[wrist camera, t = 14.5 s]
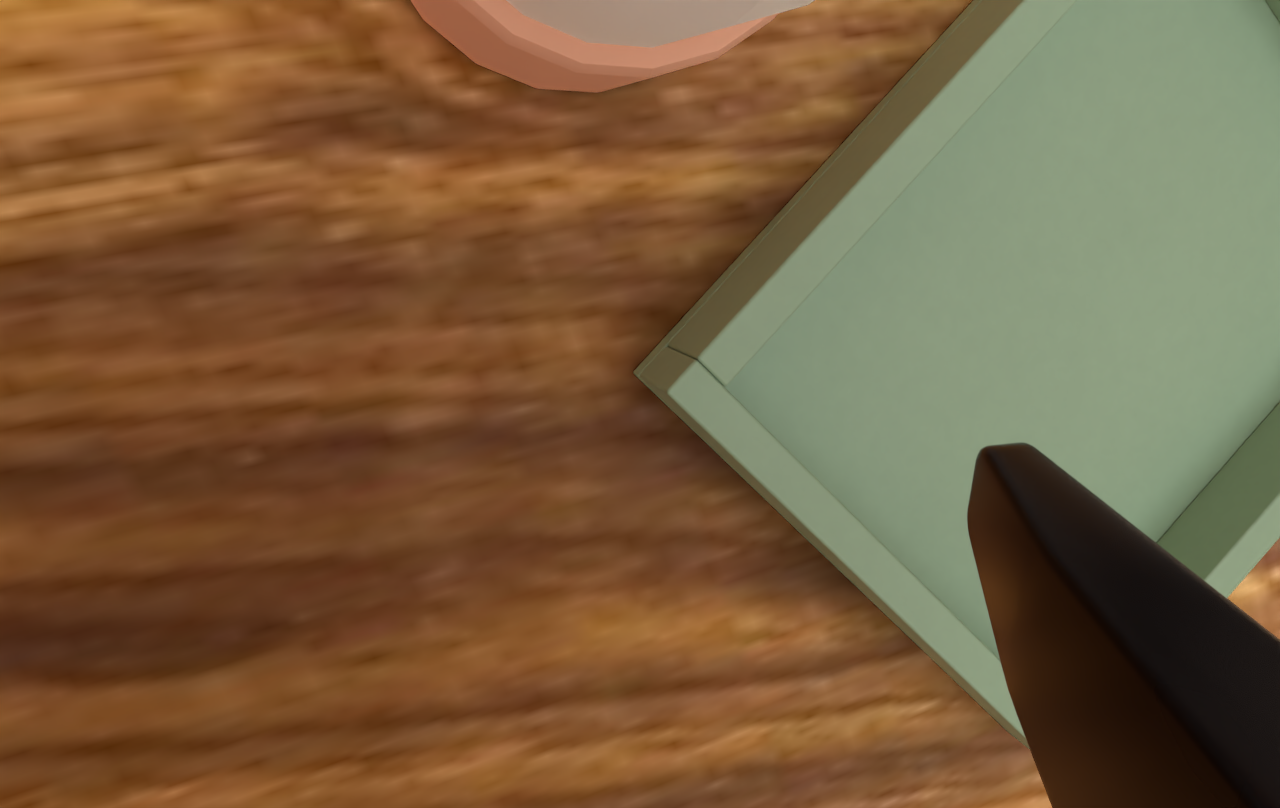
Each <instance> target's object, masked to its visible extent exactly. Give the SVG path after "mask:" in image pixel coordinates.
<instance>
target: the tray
mask: <svg viewBox="0 0 1280 808" xmlns="http://www.w3.org/2000/svg"><path fill="white" fill-rule="evenodd" d="M633 373H634V375H635V376H636V377H638V378H639V379H640V380H641V381H642V382H643V383H644V384H645V385H646V386H647V387H648V388H649V389H650V390H651V391H652V392H653V393H654V394H655V395H656V396H657V397H658V398H659V399H661V400H662V401H663V402H664V403H665V404H666V405H667V406H668V407H669V408H670V409H671V410H672V411H673V412H674V413H675V414H676V415H677V416H678V417H679V418H680V419H681V420H682V421H684V422H685V423H686V424H687V425H688V426H689V427H690V428H691V429H692V430H693V431H694V432H695V433H696V434H697V435H698V436H699V437H700V438H701V439H702V440H703V441H704V442H705V443H706V444H708V445H709V446H710V447H711V448H712V449H713V450H714V451H715V452H716V453H717V454H718V455H719V456H720V457H721V458H722V459H723V460H724V461H725V462H726V463H727V464H728V465H729V466H731V467H732V468H733V469H734V470H735V471H736V472H737V473H738V474H739V475H740V476H741V477H742V478H743V479H744V480H745V481H746V482H747V483H748V484H749V485H750V486H751V487H752V488H754V489H755V490H756V491H757V492H758V493H759V494H760V495H761V496H762V497H763V498H764V499H765V500H766V501H767V502H768V503H769V504H770V505H771V506H772V507H773V508H774V509H775V510H777V511H778V512H779V513H780V514H781V515H782V516H783V517H784V518H785V519H786V520H787V521H788V522H789V523H790V524H791V525H792V526H793V527H794V528H795V529H796V530H797V531H798V532H800V533H801V534H802V535H803V536H804V537H805V538H806V539H807V540H808V541H809V542H810V543H811V544H812V545H813V546H814V547H815V548H816V549H817V550H818V551H819V552H820V553H821V554H822V555H824V556H825V557H826V558H827V559H828V560H829V561H830V562H831V563H832V564H833V565H834V566H835V567H836V568H837V569H838V570H839V571H840V572H841V573H842V574H843V575H844V576H845V577H847V578H848V579H849V580H850V581H851V582H852V583H853V584H854V585H855V586H856V587H857V588H858V589H859V590H860V591H861V592H862V593H863V594H864V595H865V596H866V597H867V598H868V599H870V600H871V601H872V602H873V603H874V604H875V605H876V606H877V607H878V608H879V609H880V610H881V611H882V612H883V613H884V614H885V615H886V616H887V617H888V618H889V619H890V620H891V621H893V622H894V623H895V624H896V625H897V626H898V627H899V628H900V629H901V630H902V631H903V632H904V633H905V634H906V635H907V636H908V637H909V638H910V639H911V640H912V641H913V642H914V643H915V644H917V645H918V646H919V647H920V648H921V649H922V650H923V651H924V652H925V653H926V654H927V655H928V656H929V657H930V658H931V659H932V660H933V661H934V662H935V663H936V664H937V665H938V666H940V667H941V668H942V669H943V670H944V671H945V672H946V673H947V674H948V675H949V676H950V677H951V678H952V679H953V680H954V681H955V682H956V683H957V684H958V685H959V686H960V687H961V688H963V689H964V690H965V691H966V692H967V693H968V694H969V695H970V696H971V697H972V698H973V699H974V700H975V701H976V702H977V703H978V704H979V705H980V706H981V707H982V708H983V709H984V710H986V711H987V712H988V713H989V714H990V715H991V716H992V717H993V718H994V719H995V720H996V721H997V722H998V723H999V724H1000V725H1001V726H1002V727H1003V728H1004V729H1005V730H1006V731H1007V732H1008V733H1010V734H1011V735H1012V736H1013V737H1015V738H1016V739H1018V740H1019V741H1020V742H1021V743H1022V744H1024V745H1025V746H1026V747H1027V748H1029V745H1028V742H1027V740H1026V737H1025V735H1024V732H1023V729H1022V727H1021V724H1020V722H1019V719H1018V716H1017V714H1016V711H1015V708H1014V705H1013V702H1012V699H1011V696H1010V694H1009V691H1008V687H1007V684H1006V680H1005V676H1004V673H1003V669H1002V665H1001V662H1000V658H999V654H998V650H997V646H996V642H995V638H994V634H993V630H992V626H991V622H990V618H989V614H988V610H987V606H986V602H985V598H984V594H983V590H982V586H981V582H980V578H979V574H978V570H977V566H976V562H975V558H974V554H973V550H972V546H971V542H970V538H969V533H968V525H967V510H968V504H969V498H970V492H971V486H972V480H973V474H974V468H975V462H976V458H977V455H978V453H979V451H980V450H981V449H982V448H983V447H986V446H989V445H999V444H1009V443H1019V442H1023V443H1028V444H1030V445H1032V446H1034V447H1035V448H1037V449H1038V450H1039V451H1040V452H1042V453H1043V454H1044V455H1046V456H1047V457H1048V458H1049V459H1051V460H1052V461H1053V462H1054V463H1056V464H1057V465H1058V466H1059V467H1061V468H1062V469H1063V470H1065V471H1066V472H1067V473H1068V474H1070V475H1071V476H1072V477H1073V478H1075V479H1076V480H1077V481H1079V482H1080V483H1081V484H1082V485H1084V486H1085V487H1086V488H1087V489H1089V490H1090V491H1091V492H1092V493H1094V494H1095V495H1096V496H1098V497H1099V498H1100V499H1101V500H1103V501H1104V502H1105V503H1106V504H1108V505H1109V506H1110V507H1112V508H1113V509H1114V510H1115V511H1117V512H1118V513H1119V514H1120V515H1122V516H1123V517H1124V518H1126V519H1127V520H1128V521H1129V522H1131V523H1132V524H1133V525H1134V526H1136V527H1137V528H1138V529H1139V530H1141V531H1142V532H1143V533H1145V534H1146V535H1147V536H1148V537H1150V538H1151V539H1152V540H1153V541H1155V542H1156V543H1157V544H1159V545H1160V546H1161V547H1162V548H1164V549H1165V550H1166V551H1167V552H1169V553H1170V554H1171V555H1172V556H1174V557H1175V558H1176V559H1178V560H1179V561H1180V562H1181V563H1183V564H1184V565H1185V566H1186V567H1188V568H1189V569H1190V570H1192V571H1193V572H1194V573H1195V574H1197V575H1198V576H1199V577H1200V578H1202V579H1203V580H1204V581H1206V582H1207V583H1208V584H1209V585H1211V586H1212V587H1213V588H1214V589H1216V590H1217V591H1218V592H1219V593H1221V594H1222V595H1223V596H1225V597H1226V598H1228V596H1229V595H1230V594H1231V593H1232V592H1233V591H1234V589H1235V588H1236V587H1237V586H1238V585H1239V584H1240V583H1241V581H1242V580H1243V579H1244V578H1245V577H1246V576H1247V574H1248V573H1249V572H1250V571H1251V570H1252V569H1253V568H1254V566H1255V565H1256V564H1257V563H1258V562H1259V561H1260V560H1261V558H1262V557H1263V556H1264V555H1265V554H1266V553H1267V551H1268V550H1269V549H1270V548H1271V547H1272V546H1273V545H1274V543H1275V542H1276V541H1277V540H1278V539H1279V538H1280V0H973V1H972V2H971V3H970V4H969V6H968V7H967V8H966V9H965V10H964V11H963V12H962V13H961V14H960V15H959V16H958V18H957V19H956V20H955V21H954V22H953V23H952V24H951V25H950V26H949V27H948V29H947V30H946V31H945V32H944V33H943V34H942V35H941V36H940V37H939V38H938V39H937V41H936V42H935V43H934V44H933V45H932V46H931V47H930V48H929V49H928V50H927V51H926V53H925V54H924V55H923V56H922V57H921V58H920V59H919V60H918V61H917V62H916V63H915V65H914V66H913V67H912V68H911V69H910V70H909V71H908V72H907V73H906V74H905V75H904V77H903V78H902V79H901V80H900V81H899V82H898V83H897V84H896V85H895V86H894V87H893V89H892V90H891V91H890V92H889V93H888V94H887V95H886V96H885V97H884V98H883V99H882V101H881V102H880V103H879V104H878V105H877V106H876V107H875V108H874V109H873V110H872V111H871V113H870V114H869V115H868V116H867V117H866V118H865V119H864V120H863V121H862V122H861V124H860V125H859V126H858V127H857V128H856V129H855V130H854V131H853V132H852V133H851V134H850V136H849V137H848V138H847V139H846V140H845V141H844V142H843V143H842V144H841V145H840V146H839V148H838V149H837V150H836V151H835V152H834V153H833V154H832V155H831V156H830V157H829V158H828V160H827V161H826V162H825V163H824V164H823V165H822V166H821V167H820V168H819V169H818V170H817V172H816V173H815V174H814V175H813V176H812V177H811V178H810V179H809V180H808V181H807V182H806V184H805V185H804V186H803V187H802V188H801V189H800V190H799V191H798V192H797V193H796V194H795V196H794V197H793V198H792V199H791V200H790V201H789V202H788V203H787V204H786V205H785V206H784V208H783V209H782V210H781V211H780V212H779V213H778V214H777V215H776V216H775V217H774V218H773V220H772V221H771V222H770V223H769V224H768V225H767V226H766V227H765V228H764V229H763V231H762V232H761V233H760V234H759V235H758V236H757V237H756V238H755V239H754V240H753V241H752V243H751V244H750V245H749V246H748V247H747V248H746V249H745V250H744V251H743V252H742V253H741V255H740V256H739V257H738V258H737V259H736V260H735V261H734V262H733V263H732V264H731V265H730V267H729V268H728V269H727V270H726V271H725V272H724V273H723V274H722V275H721V276H720V277H719V279H718V280H717V281H716V282H715V283H714V284H713V285H712V286H711V287H710V288H709V289H708V291H707V292H706V293H705V294H704V295H703V296H702V297H701V298H700V299H699V300H698V301H697V303H696V304H695V305H694V306H693V307H692V308H691V309H690V310H689V311H688V312H687V313H686V315H685V316H684V317H683V318H682V319H681V320H680V321H679V322H678V323H677V324H676V326H675V327H674V328H673V329H672V330H671V331H670V332H669V333H668V334H667V335H666V336H665V338H664V339H663V340H662V341H661V342H660V343H659V344H658V345H657V346H656V347H655V348H654V350H653V351H652V352H651V353H650V354H649V355H648V356H647V357H646V358H645V359H644V360H643V362H642V363H641V364H640V365H639V366H638V367H637V368H636V369H635V370H634V372H633ZM1029 749H1030V748H1029Z"/></svg>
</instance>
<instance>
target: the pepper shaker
mask: <svg viewBox="0 0 1280 808" xmlns="http://www.w3.org/2000/svg"><path fill="white" fill-rule="evenodd" d="M410 1H411V2H412V4H413V5H414V7H415V8H416V10H417V11H418V13H419V14H420V16H421V17H422V19H423V20H424V21H425V22H426V23H428V24H429V25H430V26H431V27H432V28H434V29H435V30H436V31H437V32H438V33H440V34H441V35H442V36H443V37H444V38H446V39H447V40H448V41H449V42H450V43H452V44H453V45H454V46H455V47H456V48H458V49H459V50H460V51H461V52H462V53H464V54H465V55H466V56H467V57H468V58H470V59H471V60H472V61H473V62H475V63H476V64H478V65H480V66H483V67H485V68H487V69H490V70H492V71H495V72H497V73H500V74H502V75H505V76H507V77H509V78H512V79H514V80H517V81H519V82H522V83H524V84H526V85H529V86H531V87H534V88H536V89H550V90H565V91H580V92H595V93H599V92H603V91H606V90H610V89H614V88H617V87H621V86H624V85H628V84H632V83H635V82H639V81H642V80H646V79H650V78H653V77H657V76H660V75H664V74H667V73H670V72H674V71H677V70H681V69H684V68H687V67H691V66H694V65H697V64H701V63H704V62H708V61H711V60H714V59H717V58H719V57H720V56H721V55H723V54H724V53H726V52H727V51H729V50H730V49H731V48H733V47H734V46H736V45H737V44H739V43H740V42H741V41H743V40H744V39H746V38H747V37H749V36H750V35H752V34H753V33H754V32H756V31H757V30H759V29H760V28H762V27H763V26H764V25H766V24H767V23H769V22H770V21H772V20H773V19H774V18H775V17H776V15H777V14H778V13H781V12H785V11H788V10H792V9H796V8H799V7H803V6H807V5H809V4H810V3H811V2H813V1H814V0H410Z"/></svg>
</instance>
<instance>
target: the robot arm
mask: <svg viewBox="0 0 1280 808" xmlns="http://www.w3.org/2000/svg"><path fill="white" fill-rule="evenodd" d="M967 525H968V533H969V538H970V542H971V546H972V550H973V554H974V558H975V562H976V566H977V570H978V574H979V578H980V582H981V586H982V590H983V594H984V598H985V602H986V606H987V610H988V614H989V618H990V622H991V626H992V630H993V634H994V638H995V642H996V646H997V650H998V654H999V658H1000V662H1001V665H1002V669H1003V673H1004V676H1005V680H1006V684H1007V687H1008V691H1009V694H1010V696H1011V699H1012V702H1013V705H1014V708H1015V711H1016V714H1017V716H1018V719H1019V722H1020V724H1021V727H1022V729H1023V732H1024V735H1025V737H1026V740H1027V742H1028V745H1029V748H1030V750H1031V753H1032V756H1033V758H1034V761H1035V763H1036V766H1037V769H1038V771H1039V774H1040V776H1041V779H1042V782H1043V784H1044V787H1045V789H1046V792H1047V795H1048V797H1049V800H1050V802H1051V805H1052V808H1280V640H1279V639H1278V638H1277V637H1275V636H1274V635H1273V634H1272V633H1270V632H1269V631H1268V630H1266V629H1265V628H1264V627H1263V626H1261V625H1260V624H1259V623H1258V622H1256V621H1255V620H1254V619H1252V618H1251V617H1250V616H1249V615H1247V614H1246V613H1245V612H1244V611H1242V610H1241V609H1240V608H1239V607H1237V606H1236V605H1235V604H1233V603H1232V602H1231V601H1230V600H1228V599H1227V598H1226V597H1225V596H1223V595H1222V594H1221V593H1219V592H1218V591H1217V590H1216V589H1214V588H1213V587H1212V586H1211V585H1209V584H1208V583H1207V582H1206V581H1204V580H1203V579H1202V578H1200V577H1199V576H1198V575H1197V574H1195V573H1194V572H1193V571H1192V570H1190V569H1189V568H1188V567H1186V566H1185V565H1184V564H1183V563H1181V562H1180V561H1179V560H1178V559H1176V558H1175V557H1174V556H1172V555H1171V554H1170V553H1169V552H1167V551H1166V550H1165V549H1164V548H1162V547H1161V546H1160V545H1159V544H1157V543H1156V542H1155V541H1153V540H1152V539H1151V538H1150V537H1148V536H1147V535H1146V534H1145V533H1143V532H1142V531H1141V530H1139V529H1138V528H1137V527H1136V526H1134V525H1133V524H1132V523H1131V522H1129V521H1128V520H1127V519H1126V518H1124V517H1123V516H1122V515H1120V514H1119V513H1118V512H1117V511H1115V510H1114V509H1113V508H1112V507H1110V506H1109V505H1108V504H1106V503H1105V502H1104V501H1103V500H1101V499H1100V498H1099V497H1098V496H1096V495H1095V494H1094V493H1092V492H1091V491H1090V490H1089V489H1087V488H1086V487H1085V486H1084V485H1082V484H1081V483H1080V482H1079V481H1077V480H1076V479H1075V478H1073V477H1072V476H1071V475H1070V474H1068V473H1067V472H1066V471H1065V470H1063V469H1062V468H1061V467H1059V466H1058V465H1057V464H1056V463H1054V462H1053V461H1052V460H1051V459H1049V458H1048V457H1047V456H1046V455H1044V454H1043V453H1042V452H1040V451H1039V450H1038V449H1037V448H1035V447H1034V446H1032V445H1030V444H1028V443H1023V442H1019V443H1009V444H999V445H989V446H986V447H983V448H982V449H981V450H980V451H979V453H978V455H977V458H976V462H975V468H974V474H973V480H972V486H971V492H970V498H969V504H968V510H967Z"/></svg>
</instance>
